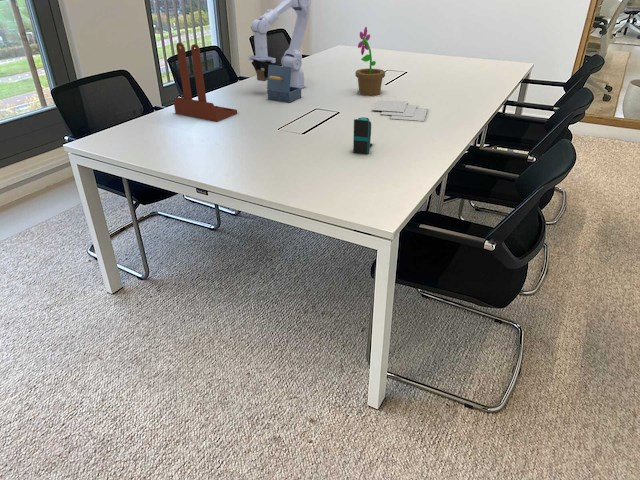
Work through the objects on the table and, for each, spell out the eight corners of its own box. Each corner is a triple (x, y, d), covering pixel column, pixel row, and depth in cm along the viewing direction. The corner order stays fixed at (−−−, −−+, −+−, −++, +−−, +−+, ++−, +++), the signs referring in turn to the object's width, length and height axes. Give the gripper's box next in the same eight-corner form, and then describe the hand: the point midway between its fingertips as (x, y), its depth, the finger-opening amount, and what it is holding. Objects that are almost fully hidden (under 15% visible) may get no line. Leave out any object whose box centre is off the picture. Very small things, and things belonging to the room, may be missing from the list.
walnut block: (262, 78, 243) (261, 67, 241) (269, 79, 242) (269, 68, 239) (257, 80, 240) (256, 69, 238) (264, 81, 238) (263, 70, 236)
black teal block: (376, 112, 175) (369, 121, 167) (375, 144, 182) (368, 154, 174) (361, 111, 177) (353, 119, 169) (360, 143, 183) (352, 152, 175)
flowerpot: (363, 88, 252) (365, 24, 236) (388, 91, 245) (392, 26, 230) (349, 94, 241) (351, 28, 226) (376, 98, 235) (379, 30, 219)
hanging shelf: (237, 113, 217) (230, 41, 202) (217, 121, 207) (208, 46, 192) (196, 106, 228) (186, 36, 212) (175, 113, 218) (163, 41, 203)
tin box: (280, 94, 244) (279, 85, 241) (301, 97, 238) (301, 87, 236) (267, 99, 236) (267, 89, 234) (289, 102, 231) (289, 93, 228)
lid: (269, 64, 230) (264, 64, 227) (291, 67, 225) (286, 66, 221) (267, 89, 234) (262, 89, 230) (289, 92, 228) (284, 92, 225)
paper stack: (429, 104, 225) (429, 102, 225) (423, 121, 204) (423, 119, 204) (378, 101, 231) (378, 99, 230) (368, 117, 210) (368, 115, 210)
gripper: (243, 47, 233) (246, 76, 240) (268, 50, 227) (270, 80, 234) (252, 45, 239) (255, 73, 246) (277, 47, 232) (279, 77, 239)
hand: (263, 76), depth 240 cm, fingers closed on walnut block, 4 cm apart
